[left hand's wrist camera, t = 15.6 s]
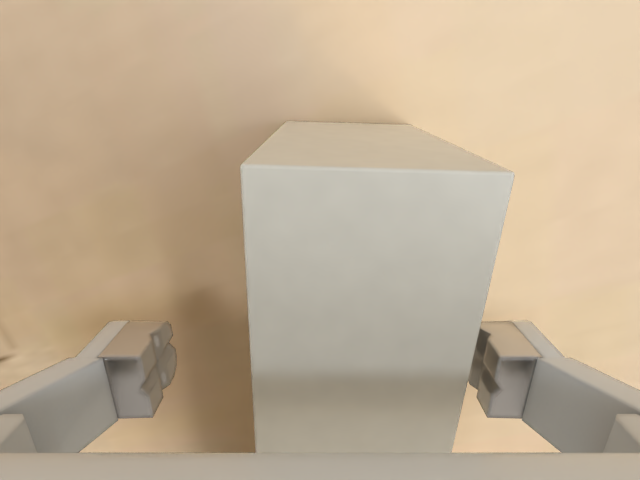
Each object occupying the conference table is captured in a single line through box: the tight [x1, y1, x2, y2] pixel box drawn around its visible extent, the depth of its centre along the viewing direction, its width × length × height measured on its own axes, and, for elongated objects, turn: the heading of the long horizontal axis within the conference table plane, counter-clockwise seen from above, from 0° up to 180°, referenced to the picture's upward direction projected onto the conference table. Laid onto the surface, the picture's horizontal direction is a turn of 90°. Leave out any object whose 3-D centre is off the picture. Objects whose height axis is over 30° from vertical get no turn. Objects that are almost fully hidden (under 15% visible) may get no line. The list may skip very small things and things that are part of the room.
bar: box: [240, 121, 514, 453], centre depth 16 cm, size 28×5×9 cm, turn 178°
